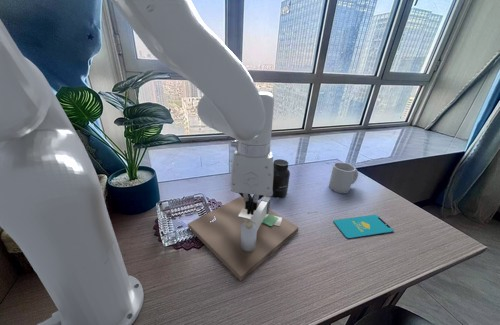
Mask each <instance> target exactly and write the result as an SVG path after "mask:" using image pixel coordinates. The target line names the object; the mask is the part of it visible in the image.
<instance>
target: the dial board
mask: <svg viewBox="0 0 500 325" xmlns="http://www.w3.org/2000/svg"><path fill="white" fill-rule="evenodd" d="M260 203H261V202H260V201H258V202H257V208H258V206H259V204H260ZM255 211H256V210H254V212H255ZM250 213H251V212H250ZM253 214H254V213H253ZM214 216H215V217H216V221H215V222H211V223H210V221H212V220H213V219H214ZM251 217H252V215H251V214H247V209H245V201H244V198H243V197H242V196H241V195H240V196H238V197H236V198H234V199H233V200H231V201H229V202H227V203H225V204H223V205H221V206H218V207H217V208H216V209H214V210H211V211H209V212H208V213H206V214H204V215H201V216H200V217H198V218H196V219H194V220H193V221H190V222H188V223H187V228H188V227H189V228H190V229H191V230H192V231H193V232H192V231H191V230H190V229H189V228H188V229H189V230H190V231H191V232H192V233H193V234H194V235H195V237H197V238H198V240H199V241H200V242H202V243H203V244H204V246H206V248H207V249H209V251H210V252H211V253H213V255H214V256H215V257H216V258H217V259H218V260H219V261H220V262H221V263H222V264H223V265H224V266H225V267H226V268H227V269H228V270H229V271H230V272H231V273H232V274H233V275H234V276H235V278H237V279H238V280H239V281H240V282H242V281H243V280H244V279H246V278H247V276H249V274H251V273H252V272H253V271H254V270H256V269H257V268H258V267H259V266H260V265H261V264H262V263H263V262H264V261H266V260H267V259H268V258H269V257H271V255H273V254H274V253H275V252H276V251H277V250H278V249H279V248H281V247H282V246H283V245H284V244H285V243H286V242H288V241H289V239H291V238H292V237H294V236H295V235H296V234H297V233H298V231H299V226H297V225H295V224H294V223H292V222H291V221H289V220H287V219H286V218H285V217H283V216H281V215H280V214H278V213H276V212H275V211H274V210H272V209H270V210H269V212H268V214H266V216H265V218H264V220H263V221H262V223H261V225H260V227H259V229H258V230H257V236H256V248H255V249H254V250H253V251H251V252H246V251H244V250H242V248H241V225H242V223H243V222H245V221H248V220H250V218H251Z"/></svg>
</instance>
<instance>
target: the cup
mask: <svg viewBox="0 0 500 325" xmlns="http://www.w3.org/2000/svg"><path fill="white" fill-rule="evenodd" d="M332 166H333V167H332V170H331V174H330V178H329V182H328V187H329V189H331V190H332V191H333V192H336V193H338V194H346V193H349V191H350V189H351V186H352V185H353V184H355V182H357V179H358V176H359V172H358V169H357V168H356V167H355V166H354V165H353V164H351V163H348V162H343V161H342V162H341V161H337V162H334V164H333V165H332Z"/></svg>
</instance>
